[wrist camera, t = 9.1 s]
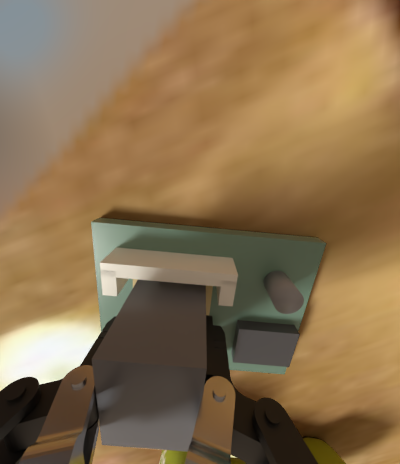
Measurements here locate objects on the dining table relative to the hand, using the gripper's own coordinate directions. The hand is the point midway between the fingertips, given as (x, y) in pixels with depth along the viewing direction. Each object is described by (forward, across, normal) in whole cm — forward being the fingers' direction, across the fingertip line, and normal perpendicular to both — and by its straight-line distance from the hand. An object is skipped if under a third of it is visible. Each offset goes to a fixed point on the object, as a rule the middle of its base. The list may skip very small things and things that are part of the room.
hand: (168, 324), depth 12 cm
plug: (+1, 0, 0) cm, 1 cm away
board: (+3, -2, 0) cm, 3 cm away
